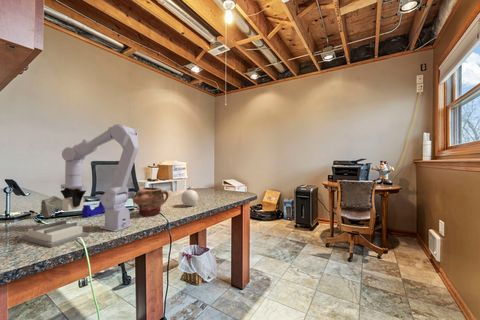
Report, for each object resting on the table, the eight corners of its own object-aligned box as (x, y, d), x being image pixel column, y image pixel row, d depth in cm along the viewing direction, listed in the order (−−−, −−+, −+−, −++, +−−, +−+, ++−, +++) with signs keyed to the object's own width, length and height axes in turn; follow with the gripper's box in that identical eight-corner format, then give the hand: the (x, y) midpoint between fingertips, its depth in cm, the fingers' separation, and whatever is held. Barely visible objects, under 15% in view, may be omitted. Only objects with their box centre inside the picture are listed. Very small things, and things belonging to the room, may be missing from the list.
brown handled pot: (159, 208, 127) (160, 185, 127) (174, 211, 121) (174, 187, 121) (127, 216, 110) (128, 189, 110) (142, 220, 104) (143, 191, 104)
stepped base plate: (88, 235, 82) (88, 223, 82) (51, 247, 71) (51, 234, 71) (59, 229, 88) (59, 218, 88) (21, 238, 77) (21, 226, 77)
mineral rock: (67, 211, 117) (68, 192, 117) (75, 214, 111) (75, 195, 111) (36, 215, 107) (36, 195, 107) (41, 219, 100) (42, 198, 100)
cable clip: (99, 211, 118) (99, 200, 118) (106, 212, 117) (106, 201, 117) (79, 217, 106) (79, 205, 106) (87, 218, 106) (87, 205, 106)
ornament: (185, 203, 142) (186, 185, 142) (200, 204, 140) (200, 186, 140) (178, 207, 132) (178, 187, 132) (194, 208, 130) (194, 188, 130)
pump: (86, 207, 97) (86, 196, 97) (68, 211, 90) (68, 199, 90) (80, 206, 99) (81, 196, 99) (62, 210, 92) (62, 198, 92)
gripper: (93, 175, 95) (93, 205, 95) (72, 173, 100) (72, 202, 100) (76, 176, 88) (76, 209, 89) (55, 174, 94) (54, 205, 94)
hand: (73, 205), depth 94 cm, fingers closed on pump, 4 cm apart
